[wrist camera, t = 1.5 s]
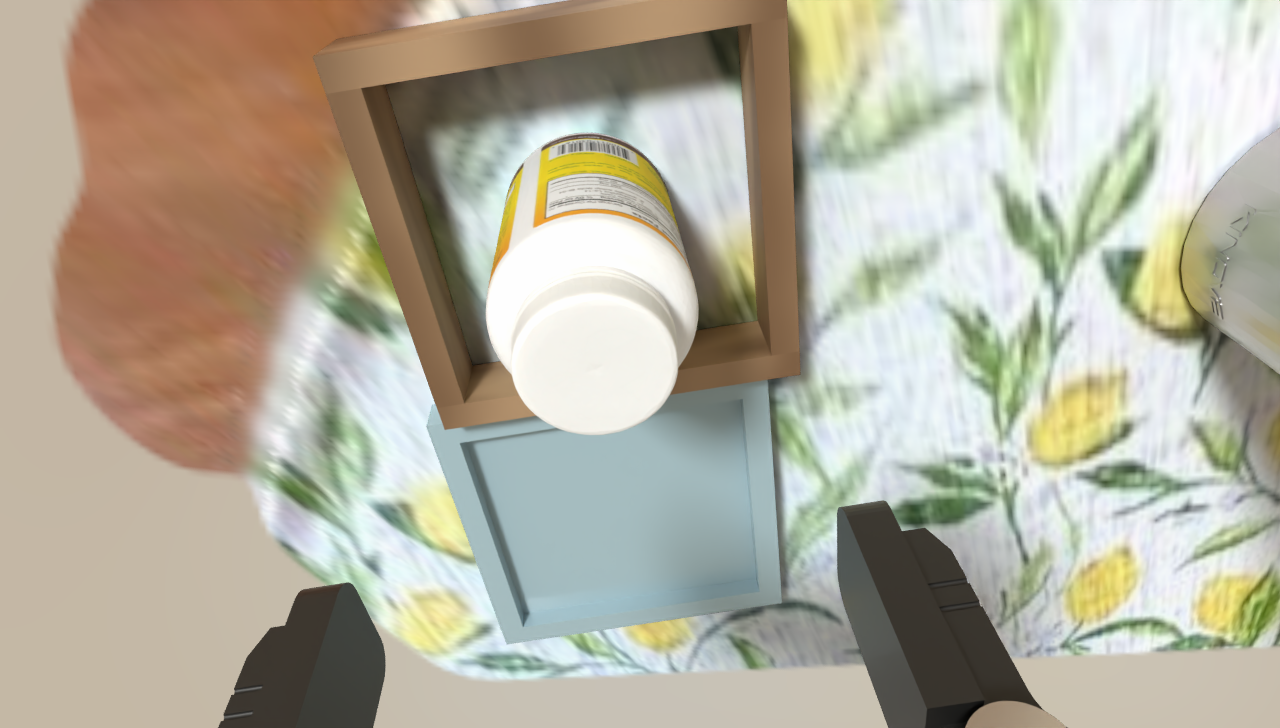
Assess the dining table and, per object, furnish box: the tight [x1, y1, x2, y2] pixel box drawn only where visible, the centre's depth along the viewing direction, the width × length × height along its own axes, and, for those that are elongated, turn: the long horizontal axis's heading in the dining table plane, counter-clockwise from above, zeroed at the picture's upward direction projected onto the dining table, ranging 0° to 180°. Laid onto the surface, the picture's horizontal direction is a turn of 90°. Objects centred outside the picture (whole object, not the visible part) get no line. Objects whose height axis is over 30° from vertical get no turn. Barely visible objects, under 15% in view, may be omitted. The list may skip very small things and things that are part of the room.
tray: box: [427, 380, 782, 644], centre depth 34 cm, size 13×13×1 cm
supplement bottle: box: [486, 133, 698, 435], centre depth 23 cm, size 6×6×10 cm
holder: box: [313, 0, 800, 430], centre depth 26 cm, size 13×13×2 cm
